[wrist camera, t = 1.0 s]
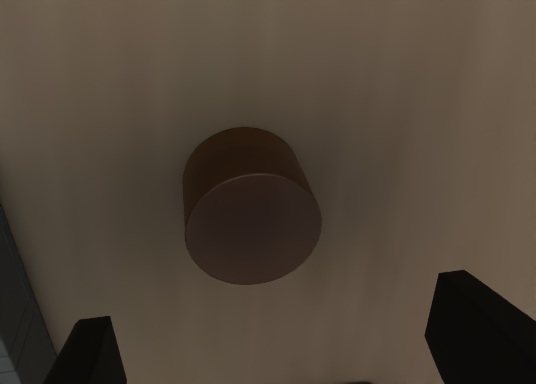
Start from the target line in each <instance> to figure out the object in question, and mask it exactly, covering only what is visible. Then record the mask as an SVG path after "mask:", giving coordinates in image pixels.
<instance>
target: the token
mask: <svg viewBox="0 0 536 384" xmlns="http://www.w3.org/2000/svg"><path fill="white" fill-rule="evenodd" d="M183 200H184V225H185V242H186V246H187V249H188V252H189V254H190V256H191V257H192V259H193V261H194V262H195V263H196V264H197V265H198V267H200V268H201V269H202V270H203V271H204V272H206V273H207V274H209V275H210V276H212V277H214V278H216V279H218V280H221V281H224V282H228V283H232V284H240V285H252V284H260V283H266V282H269V281H273V280H275V279H278V278H281V277H283V276H285V275H287V274H288V273H290V272H292V271H293V270H295V269H296V268H297V267H299V266H300V265H301V264H302V263H303V262H304V261H305V260H306V259H307V258H308V257H309V255H310V254H311V253H312V251H313V250H314V248H315V246H316V244H317V242H318V240H319V236H320V233H321V226H322V217H321V212H320V208H319V206H318V203H317V201H316V199H315V197H314V194H313V192H312V190H311V188H310V186H309V183H308V181H307V179H306V177H305V175H304V173H303V170H302V168H301V166H300V164H299V162H298V160H297V157H296V156H295V154H294V152H293V150H292V149H291V148H290V147H289V145H288V144H287V143H286V142H285V141H283V140H282V139H281V138H279V137H278V136H276V135H274V134H272V133H270V132H267V131H264V130H260V129H256V128H236V129H230V130H226V131H223V132H221V133H218V134H216V135H214V136H212V137H210V138H209V139H207V140H206V141H205V142H203V143H202V144H201V145H200V146H199V147H198V148H197V149H196V150H195V151H194V152H193V154H192V155H191V157H190V158H189V160H188V162H187V164H186V167H185V170H184V174H183Z"/></svg>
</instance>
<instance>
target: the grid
mask: <svg viewBox="0 0 536 384" xmlns="http://www.w3.org/2000/svg"><path fill="white" fill-rule="evenodd" d="M56 359H57V357H56V354H55V351H54V349H53V346H52V343H51V341H50V338H49V335H48V333H47V330H46V327H45V324H44V322H43V319H42V316H41V314H40V311H39V308H38V305H37V303H36V300H35V297H34V295H33V292H32V289H31V287H30V284H29V281H28V278H27V276H26V273H25V270H24V268H23V265H22V262H21V260H20V257H19V254H18V251H17V249H16V246H15V243H14V241H13V238H12V235H11V232H10V230H9V227H8V224H7V222H6V219H5V216H4V214H3V211H2V208H1V205H0V384H42V383H43V381H44V380H45V378H46V376H47V374H48V373H49V371H50V369H51V368H52V366H53V364H54V362H55V361H56Z"/></svg>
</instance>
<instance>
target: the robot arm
mask: <svg viewBox="0 0 536 384" xmlns="http://www.w3.org/2000/svg"><path fill="white" fill-rule="evenodd" d="M424 336H425V339H426V341H427V344H428V346H429V349H430V351H431V354H432V356H433V359H434V361H435V364H436V366H437V368H438V371H439V373H440V375H441V378H442V380H443V382H444V383H445V384H536V321H535V320H533V319H532V318H530V317H529V316H528V315H526V314H525V313H523V312H522V311H521V310H519V309H518V308H517V307H515V306H514V305H512V304H511V303H510V302H508V301H507V300H506V299H504V298H503V297H502V296H500V295H499V294H497V293H496V292H495V291H493V290H492V289H491V288H489V287H488V286H486V285H485V284H484V283H482V282H481V281H480V280H478V279H477V278H475V277H474V276H473V275H471V274H470V273H468V272H467V271H465V270H459V271H451V272H444V273H439V275H438V279H437V284H436V288H435V292H434V297H433V301H432V305H431V309H430V314H429V318H428V322H427V327H426V331H425V335H424ZM42 384H127V379H126V375H125V371H124V367H123V364H122V360H121V356H120V352H119V348H118V344H117V341H116V337H115V333H114V329H113V325H112V322H111V318H110V316H104V317H97V318H89V319H81V320H79V321H78V322H77V323H76V324H75V325H74V327H73V329H72V331H71V333H70V335H69V337H68V339H67V340H66V342H65V344H64V346H63V348H62V350H61V352H60V353H59V355H58V357H57V359H56V361H55V362H54V364H53V366H52V368H51V369H50V371H49V373H48V374H47V376H46V378H45V380H44V381H43V383H42Z"/></svg>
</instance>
